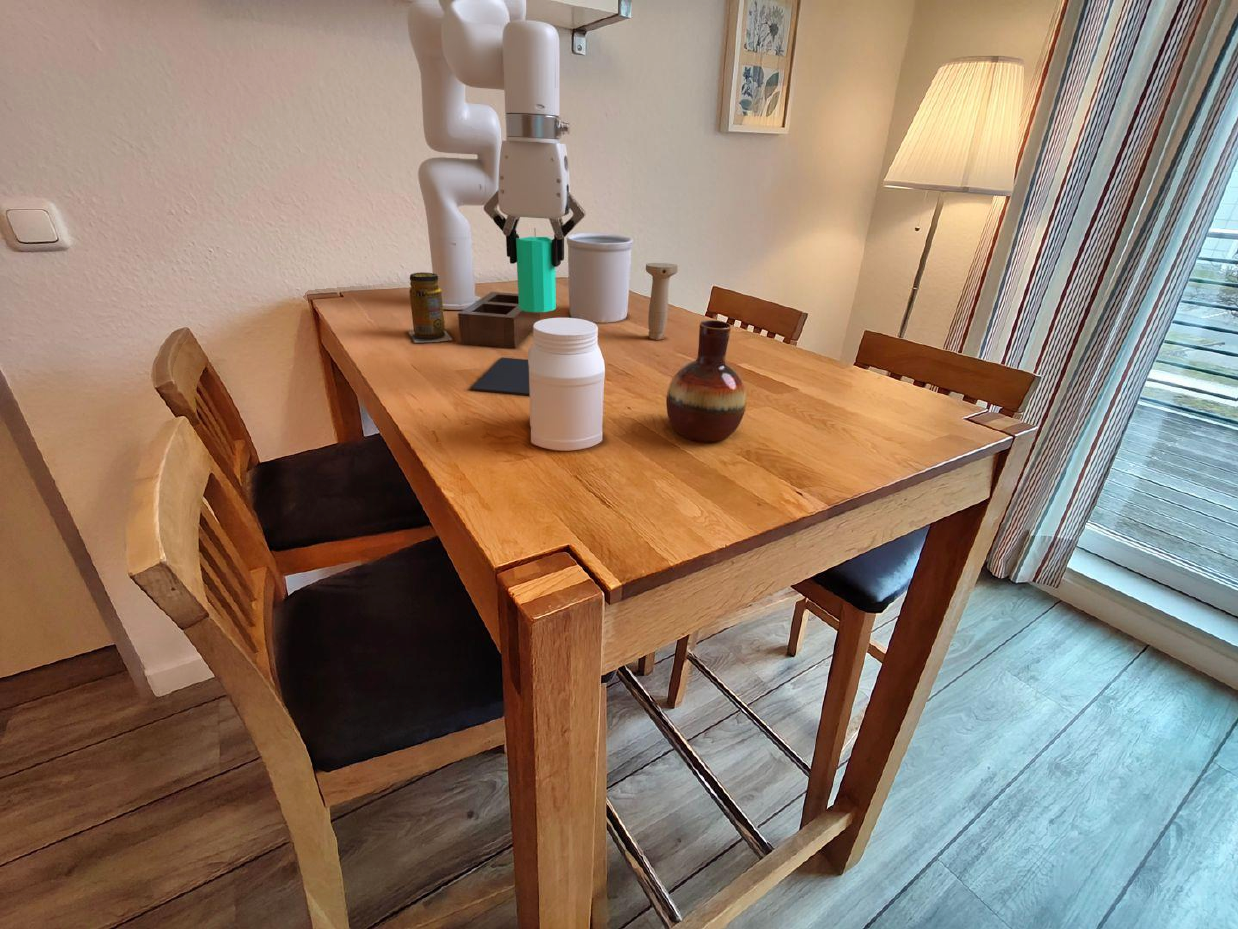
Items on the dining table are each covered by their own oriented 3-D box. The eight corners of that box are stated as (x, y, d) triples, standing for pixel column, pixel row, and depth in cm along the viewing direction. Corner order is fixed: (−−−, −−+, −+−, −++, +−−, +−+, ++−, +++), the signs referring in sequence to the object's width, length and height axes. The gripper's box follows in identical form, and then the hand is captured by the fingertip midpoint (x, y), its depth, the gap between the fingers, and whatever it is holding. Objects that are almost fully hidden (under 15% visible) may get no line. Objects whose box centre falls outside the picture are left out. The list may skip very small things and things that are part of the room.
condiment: (444, 329, 123) (438, 270, 117) (452, 340, 116) (447, 278, 111) (408, 332, 120) (400, 271, 114) (414, 344, 113) (406, 280, 108)
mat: (470, 390, 94) (470, 387, 93) (501, 359, 108) (501, 357, 107) (581, 400, 92) (581, 398, 92) (597, 367, 106) (597, 365, 106)
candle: (525, 313, 91) (522, 230, 85) (513, 305, 95) (509, 225, 90) (561, 310, 93) (560, 229, 87) (547, 302, 98) (546, 225, 92)
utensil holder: (617, 327, 131) (621, 244, 122) (556, 318, 135) (556, 238, 126) (637, 312, 143) (641, 236, 135) (580, 305, 147) (581, 231, 139)
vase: (651, 419, 87) (659, 315, 79) (716, 411, 90) (730, 311, 83) (684, 452, 78) (697, 338, 70) (756, 442, 81) (775, 333, 74)
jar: (605, 450, 77) (609, 338, 70) (531, 452, 76) (528, 338, 69) (594, 415, 87) (597, 314, 80) (529, 416, 86) (526, 314, 79)
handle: (673, 341, 123) (680, 267, 116) (643, 341, 122) (648, 266, 115) (668, 335, 127) (674, 263, 120) (639, 335, 126) (643, 262, 119)
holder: (460, 343, 115) (457, 313, 112) (492, 318, 132) (491, 291, 129) (514, 348, 114) (513, 317, 111) (540, 322, 131) (539, 295, 128)
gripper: (597, 134, 85) (594, 263, 93) (482, 128, 87) (489, 256, 95) (588, 133, 78) (585, 272, 87) (464, 126, 80) (473, 263, 89)
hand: (535, 262), depth 91 cm, fingers closed on candle, 6 cm apart
